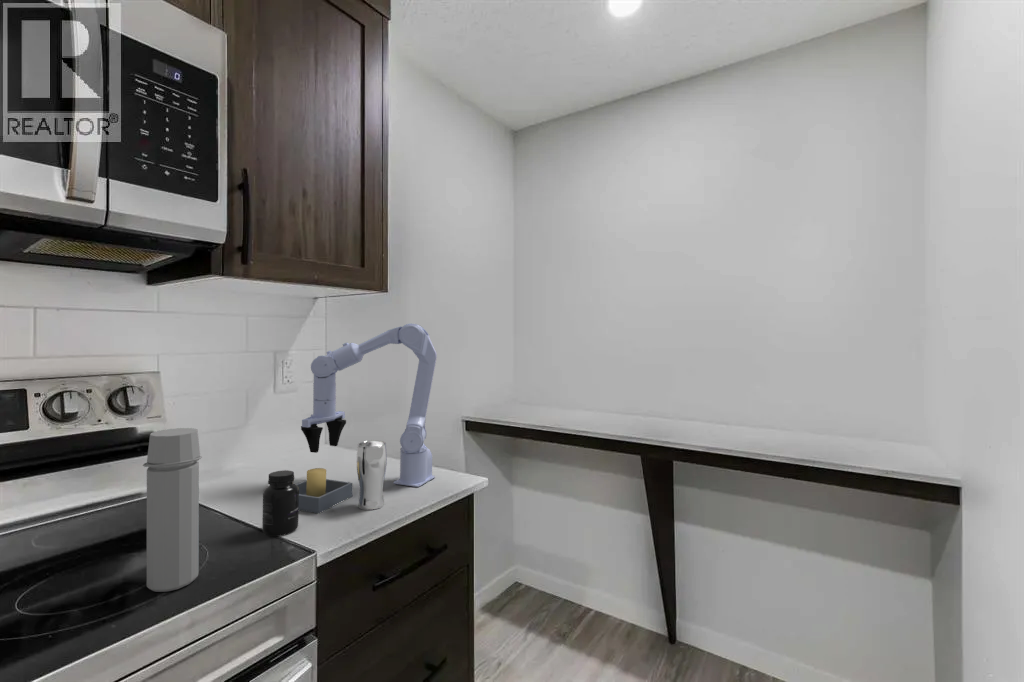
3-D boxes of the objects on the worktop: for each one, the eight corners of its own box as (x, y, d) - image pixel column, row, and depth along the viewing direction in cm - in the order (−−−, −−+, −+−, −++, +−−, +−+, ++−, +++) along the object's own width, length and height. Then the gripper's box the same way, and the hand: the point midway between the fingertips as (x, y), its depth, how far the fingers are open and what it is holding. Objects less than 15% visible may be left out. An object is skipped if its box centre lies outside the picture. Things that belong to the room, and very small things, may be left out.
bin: (314, 490, 124) (314, 477, 124) (352, 496, 120) (352, 482, 120) (277, 506, 113) (277, 491, 113) (318, 513, 109) (318, 498, 109)
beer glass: (349, 507, 113) (350, 444, 112) (371, 498, 119) (371, 438, 119) (371, 513, 110) (372, 448, 109) (392, 503, 116) (393, 442, 115)
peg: (315, 495, 119) (315, 467, 119) (329, 497, 118) (330, 469, 118) (302, 500, 115) (302, 472, 115) (316, 503, 114) (317, 474, 113)
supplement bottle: (300, 533, 98) (300, 475, 98) (262, 539, 95) (263, 480, 95) (296, 521, 104) (297, 466, 104) (261, 527, 101) (262, 471, 101)
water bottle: (207, 581, 79) (208, 432, 78) (148, 601, 73) (149, 439, 73) (191, 562, 85) (192, 424, 85) (136, 579, 79) (136, 430, 79)
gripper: (330, 395, 138) (330, 441, 138) (292, 402, 124) (292, 453, 125) (351, 396, 136) (350, 444, 136) (314, 403, 122) (314, 456, 122)
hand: (324, 448), depth 130 cm, fingers open, 7 cm apart
